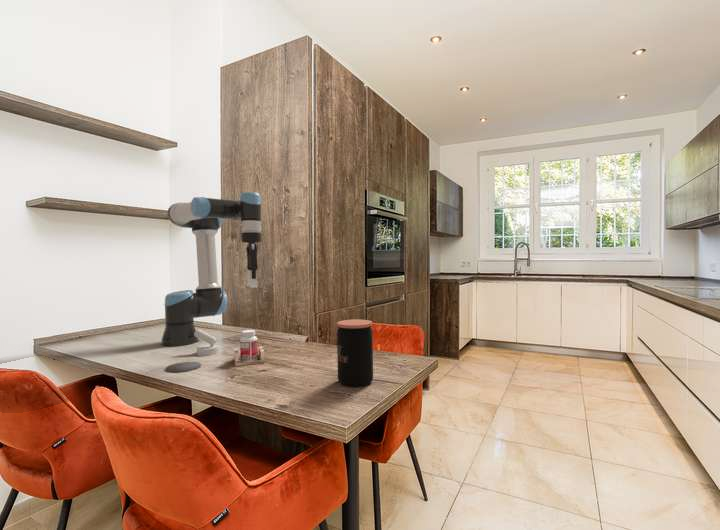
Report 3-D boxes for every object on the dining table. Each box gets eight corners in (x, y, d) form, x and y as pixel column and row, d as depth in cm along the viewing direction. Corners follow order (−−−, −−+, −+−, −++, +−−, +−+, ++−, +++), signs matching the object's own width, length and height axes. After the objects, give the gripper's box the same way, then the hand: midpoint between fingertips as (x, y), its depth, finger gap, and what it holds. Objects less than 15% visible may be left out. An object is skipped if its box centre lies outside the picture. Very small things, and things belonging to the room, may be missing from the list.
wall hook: (201, 327, 159) (223, 327, 157) (202, 350, 159) (224, 350, 157) (188, 331, 151) (211, 331, 149) (189, 355, 151) (211, 356, 149)
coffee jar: (337, 377, 120) (336, 319, 119) (371, 375, 121) (370, 318, 120) (338, 388, 109) (337, 325, 109) (375, 387, 110) (374, 324, 110)
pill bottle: (256, 357, 145) (255, 328, 145) (259, 361, 139) (258, 331, 139) (239, 360, 142) (238, 330, 142) (241, 364, 137) (241, 333, 136)
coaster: (168, 365, 136) (168, 363, 136) (201, 362, 140) (201, 360, 140) (164, 374, 126) (163, 372, 126) (200, 370, 130) (200, 368, 130)
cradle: (234, 358, 144) (234, 348, 144) (261, 356, 147) (261, 345, 147) (235, 366, 134) (235, 354, 134) (264, 362, 138) (264, 351, 138)
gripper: (239, 234, 160) (241, 284, 161) (242, 229, 137) (244, 289, 137) (258, 234, 163) (259, 284, 163) (264, 230, 139) (265, 288, 140)
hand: (252, 286), depth 150 cm, fingers open, 13 cm apart
